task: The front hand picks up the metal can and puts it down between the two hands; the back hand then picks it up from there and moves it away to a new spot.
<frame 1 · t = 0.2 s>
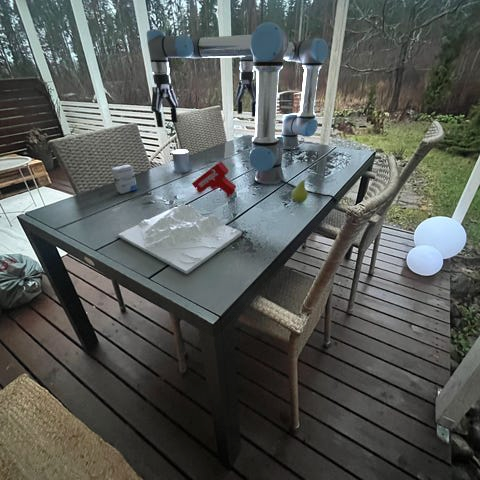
front hand: (168, 124, 133), 28 cm above the table, tool pointing down, fingers open, 13 cm apart
back hand: (246, 115, 155), 28 cm above the table, tool pointing down, fingers open, 13 cm apart
relief map: (180, 236, 98), on the table
fruit: (299, 202, 122), on the table
can: (182, 170, 159), on the table
toy gun: (214, 193, 131), on the table
ink box: (127, 190, 134), on the table
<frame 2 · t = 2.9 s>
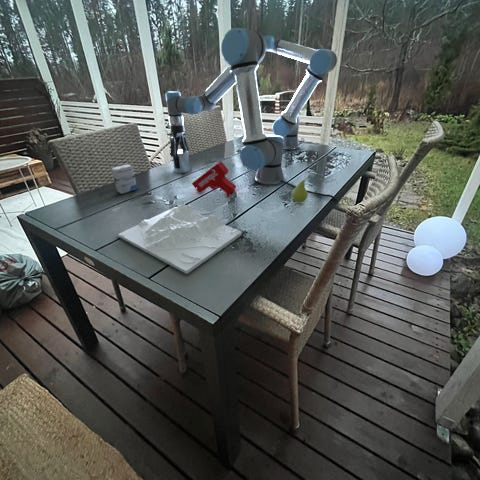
front hand: (181, 165, 158), 3 cm above the table, tool pointing down, fingers closed on can, 9 cm apart
back hand: (249, 99, 187), 32 cm above the table, tool pointing down, fingers open, 13 cm apart
can: (182, 170, 159), on the table, touching front hand
everything else where it was.
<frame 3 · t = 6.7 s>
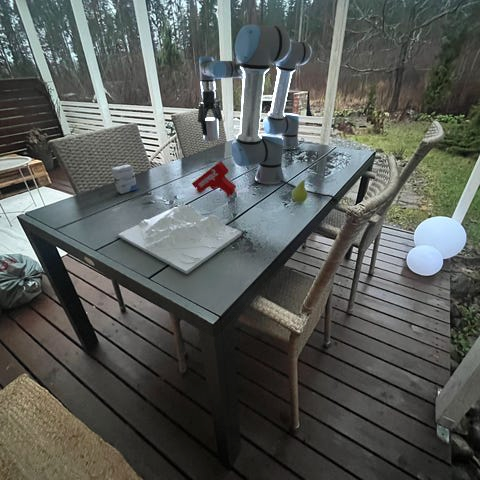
front hand: (211, 133, 161), 18 cm above the table, tool pointing down, fingers closed on can, 9 cm apart
back hand: (250, 92, 207), 35 cm above the table, tool pointing down, fingers open, 13 cm apart
can: (211, 139, 162), point 15 cm above the table, touching front hand
everything else where it was.
when the front hand's fingers open (5 cm above the table, at t = 10.8 s): can drops 2 cm, on the table.
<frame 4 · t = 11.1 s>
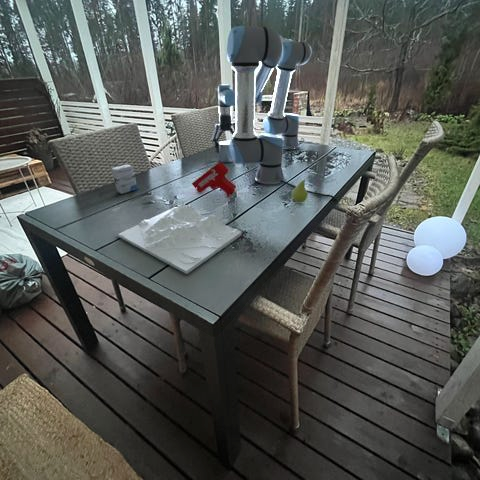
front hand: (226, 150, 173), 6 cm above the table, tool pointing down, fingers open, 13 cm apart
back hand: (250, 92, 207), 35 cm above the table, tool pointing down, fingers open, 13 cm apart
can: (226, 160, 176), on the table
everything else where it was.
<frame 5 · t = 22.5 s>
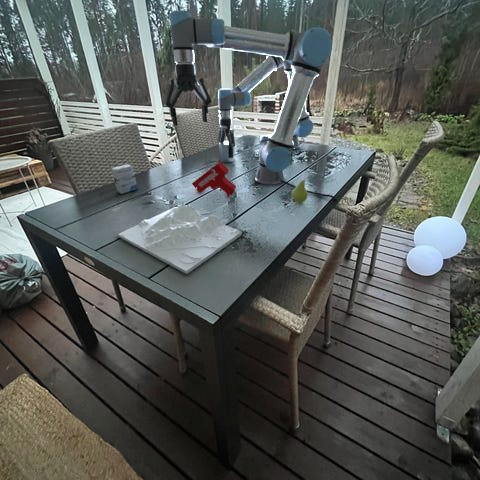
front hand: (190, 123, 115), 31 cm above the table, tool pointing down, fingers open, 13 cm apart
back hand: (226, 155, 174), 3 cm above the table, tool pointing down, fingers closed on can, 9 cm apart
can: (226, 160, 176), on the table, touching back hand
everything else where it was.
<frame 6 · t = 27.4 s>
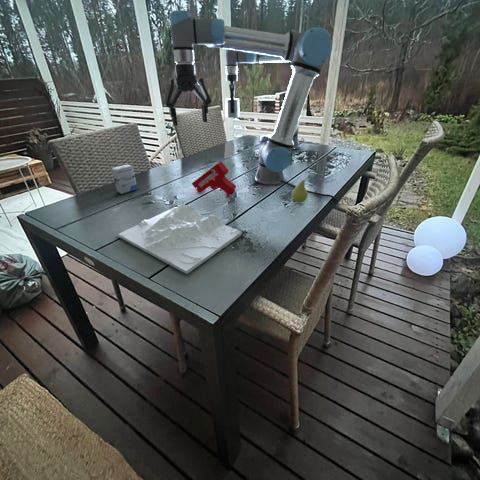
front hand: (190, 123, 115), 31 cm above the table, tool pointing down, fingers open, 13 cm apart
back hand: (232, 111, 189), 25 cm above the table, tool pointing down, fingers closed on can, 9 cm apart
can: (232, 116, 190), point 22 cm above the table, touching back hand
everything else where it was.
when the back hand's fingers open (5 cm above the table, at t = 32.4 s): can drops 2 cm, on the table.
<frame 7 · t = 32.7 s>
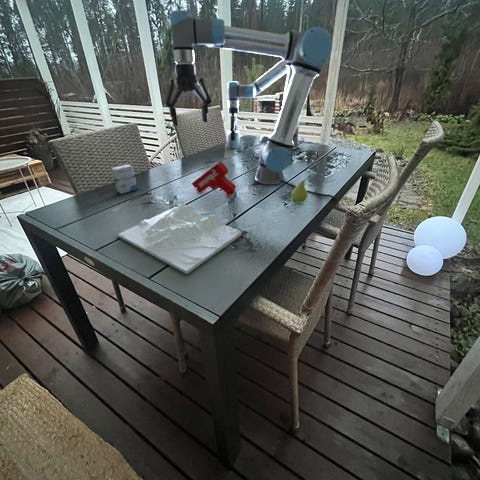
front hand: (190, 123, 115), 31 cm above the table, tool pointing down, fingers open, 13 cm apart
back hand: (233, 138, 202), 6 cm above the table, tool pointing down, fingers open, 13 cm apart
can: (234, 146, 205), on the table
everything else where it was.
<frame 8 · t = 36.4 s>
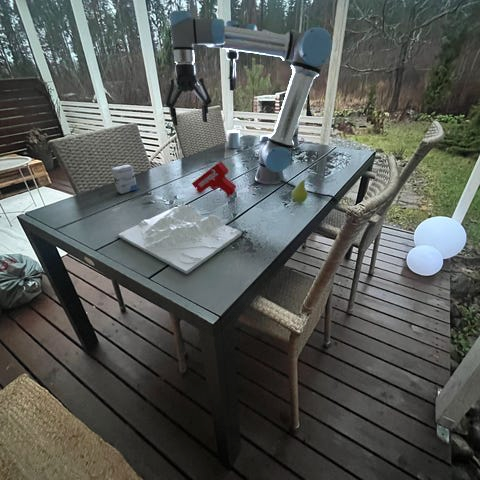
front hand: (190, 123, 115), 31 cm above the table, tool pointing down, fingers open, 13 cm apart
back hand: (233, 89, 185), 38 cm above the table, tool pointing down, fingers open, 13 cm apart
nothing on the table moved.
at the end: can inside the target area (0.0 cm from its centre), on the table; can tilted 0°; the two hands never held the can at the same time; the front hand is holding nothing; the back hand is holding nothing; can at rest at the end (0.0 cm/s) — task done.
